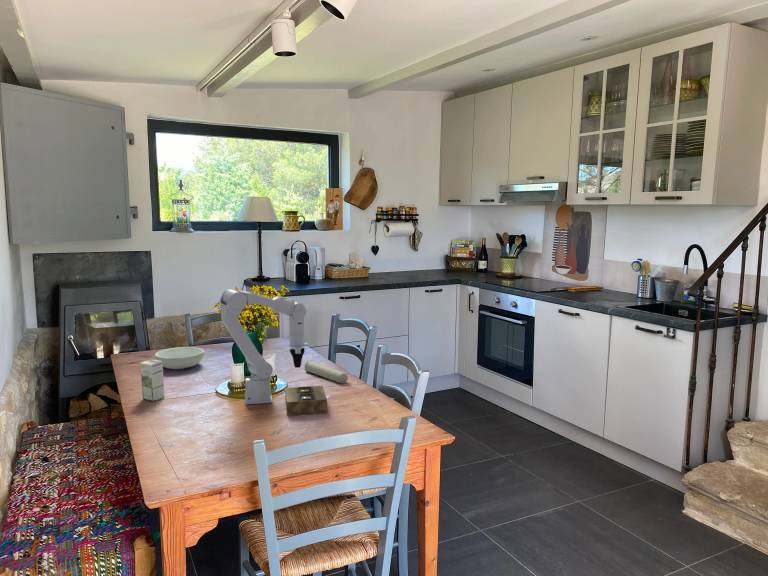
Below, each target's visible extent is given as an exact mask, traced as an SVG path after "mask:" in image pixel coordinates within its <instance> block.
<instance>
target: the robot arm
mask: <svg viewBox="0 0 768 576" xmlns="http://www.w3.org/2000/svg"><path fill="white" fill-rule="evenodd" d="M219 304H220V314H221V315H220V319H221V322H222V324H223V325H224V327H225V328H226V330H227V331H228V333H229V334H230V336H231V337H232V339H233V340H234V342H235V343H236V345H237V347H238V348H239V350H240V351H241V353H242V354H243V356H244V358H245V362H246V363H247V370H248V372H249V373H250V377H246V378H245V384H244V388H245V391H244V392H245V393H244V398H245V405H258V404H271V403H273V396H272V394H271V393H272V392H271V391H272V389H271V376H272V375H273V370H274V368H273V366H272V364H270V362H268V361H266V359H265V358H264V357H263V356H262V355H261V354H260V352H259V351H258V349H257V347H256V346H255V344H254V343H253V342H252V340H251V338H250V336H249V335H248V333H247V332H246V330H245V329H244V327H243V325H242V324H241V321H240V320H239V316H240V314H241V313H242V311H243V310H244V308H245V307H246V306H250V305H251V304H256V305H259V306H260V305H261V306H265V307H269V309H270V310H271V311H272V312H274V313H278V314H281V315H285V316H288V336H289V337H288V338H289V339H288V341H289V343H288V347H289V352H290V354H291V357H292V361H293V365H294V368H296V369H297V368H298V369H299V368H301V366H302V360H303V356H304V353H305V347H307V346H308V342H305V316H306V315H307V311H308V310H307V309H306V306H305V305H304V304H303V303H300V302H297V301H295V300H294V299H286V298H284V296H281V295H279V296H274V297H273V298H270V297H266V296H263V295H260V294H257V293H254V292H250V291H245V290H240V289H239V290H238V289H236V290H235V289H233V288H228V289H225V290H224V291H223V292H222V294H221V297H220V299H219Z"/></svg>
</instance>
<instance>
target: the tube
mask: <svg viewBox="0 0 768 576" xmlns="http://www.w3.org/2000/svg"><path fill="white" fill-rule="evenodd" d="M304 371H306V372H307V373H311V374H314V375H317V376H320V377H321V376H322V378H325V379H328V380H329V381H332V380H333V382H335V381H336V383H339V384H341V383H343V384H346V383H347V381H348V379H349V377H348V374H347V373H345V372H344V371H341V370H339V369H336V368H332V367H330V366H327V365H324V364H322V363H317V362H315V361H313V360H307V361H306V362H305V364H304Z"/></svg>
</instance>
